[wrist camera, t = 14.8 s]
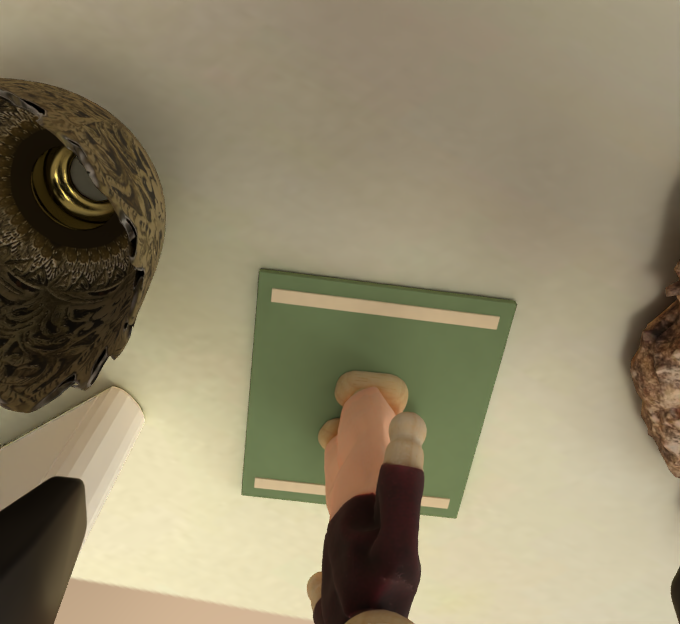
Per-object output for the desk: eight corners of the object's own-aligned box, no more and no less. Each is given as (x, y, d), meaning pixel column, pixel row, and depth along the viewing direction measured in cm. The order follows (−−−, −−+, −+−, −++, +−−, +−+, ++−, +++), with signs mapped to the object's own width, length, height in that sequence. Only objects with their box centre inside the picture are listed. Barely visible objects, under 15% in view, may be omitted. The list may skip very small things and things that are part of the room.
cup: (251, 136, 19) (194, 210, 12) (156, 317, 22) (64, 463, 15) (20, -1, 18) (-204, -11, 10) (-51, 211, 20) (-266, 319, 13)
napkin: (242, 490, 26) (240, 496, 25) (260, 268, 21) (258, 272, 21) (455, 513, 26) (456, 520, 26) (515, 300, 22) (518, 304, 21)
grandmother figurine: (397, 491, 25) (438, 889, 14) (304, 479, 25) (267, 873, 13) (439, 325, 22) (540, 666, 10) (331, 309, 22) (313, 640, 10)
